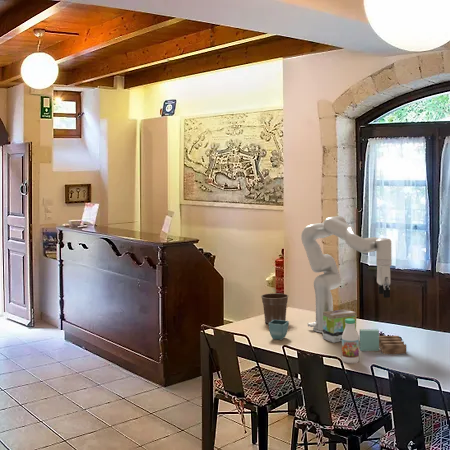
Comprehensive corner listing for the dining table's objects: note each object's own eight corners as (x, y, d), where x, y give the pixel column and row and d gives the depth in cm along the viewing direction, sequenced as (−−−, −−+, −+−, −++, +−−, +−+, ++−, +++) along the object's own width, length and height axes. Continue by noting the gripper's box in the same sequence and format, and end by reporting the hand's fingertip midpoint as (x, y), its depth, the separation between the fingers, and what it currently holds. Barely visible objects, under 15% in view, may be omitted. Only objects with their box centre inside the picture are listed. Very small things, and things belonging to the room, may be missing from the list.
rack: (383, 353, 297) (383, 345, 296) (376, 344, 313) (376, 336, 312) (406, 353, 296) (406, 344, 296) (398, 344, 312) (398, 335, 312)
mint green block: (360, 350, 303) (360, 331, 302) (359, 349, 306) (359, 329, 305) (379, 350, 302) (378, 330, 301) (377, 348, 305) (377, 329, 304)
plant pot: (262, 318, 372) (262, 292, 371) (289, 319, 370) (288, 292, 369) (260, 325, 356) (260, 298, 355) (288, 326, 354) (287, 298, 353)
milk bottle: (340, 359, 290) (339, 317, 288) (355, 358, 291) (355, 317, 289) (344, 364, 283) (344, 321, 281) (360, 363, 283) (360, 320, 281)
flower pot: (289, 337, 330) (289, 320, 330) (283, 341, 322) (283, 324, 322) (274, 335, 334) (273, 319, 333) (268, 339, 326) (268, 323, 325)
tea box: (334, 343, 317) (333, 315, 315) (322, 338, 326) (322, 311, 324) (356, 339, 324) (356, 311, 322) (344, 334, 332) (344, 308, 331)
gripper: (372, 260, 322) (373, 292, 324) (380, 265, 305) (381, 299, 306) (387, 260, 322) (387, 292, 324) (395, 264, 305) (396, 298, 306)
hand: (384, 295), depth 315 cm, fingers open, 9 cm apart
